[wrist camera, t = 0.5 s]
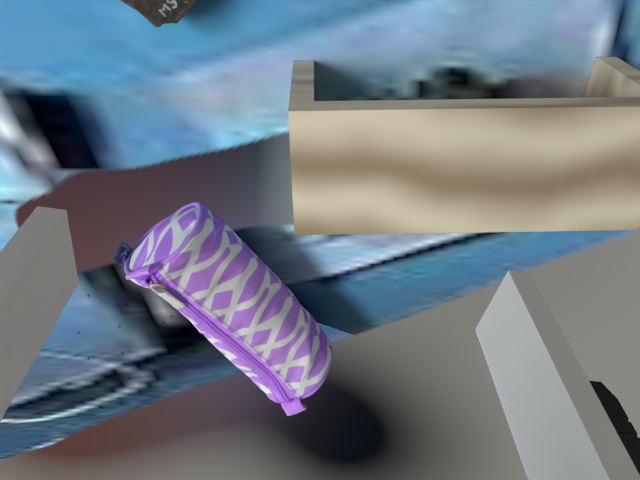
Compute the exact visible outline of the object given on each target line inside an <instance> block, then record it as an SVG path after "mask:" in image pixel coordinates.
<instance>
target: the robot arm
mask: <svg viewBox="0 0 640 480" xmlns="http://www.w3.org/2000/svg"><path fill="white" fill-rule="evenodd" d="M77 284H78V277H77V271H76V266H75V260H74V253H73V247H72V241H71V236H70V229H69V223H68V217H67V211H66V210H60V209H53V208H45V207H37V208H36V209H35V210H34V211H33V212H32V214H31V215H30V216H29V217H28V219H27V220H26V221H25V222H24V223H23V225H22V226H21V227H20V228H19V230H18V231H17V232H16V233H15V235H14V236H13V237H12V238H11V240H10V241H9V242H8V243H7V245H6V246H5V247H4V248H3V249H2V251H1V252H0V421H1V419H2V417H3V415H4V413H5V412H6V410H7V408H8V406H9V405H10V403H11V401H12V399H13V397H14V396H15V394H16V392H17V390H18V389H19V387H20V385H21V383H22V382H23V380H24V378H25V376H26V374H27V373H28V371H29V369H30V367H31V366H32V364H33V362H34V360H35V358H36V357H37V355H38V353H39V351H40V350H41V348H42V346H43V344H44V342H45V341H46V339H47V337H48V335H49V334H50V332H51V330H52V328H53V326H54V325H55V323H56V321H57V319H58V318H59V316H60V314H61V312H62V310H63V309H64V307H65V305H66V303H67V302H68V300H69V298H70V296H71V294H72V293H73V291H74V289H75V287H76V286H77ZM476 333H477V336H478V339H479V341H480V344H481V347H482V350H483V353H484V356H485V358H486V361H487V364H488V367H489V370H490V373H491V376H492V378H493V381H494V384H495V387H496V390H497V393H498V396H499V398H500V401H501V404H502V406H503V410H504V412H505V415H506V418H507V421H508V424H509V427H510V430H511V433H512V435H513V438H514V441H515V444H516V447H517V450H518V453H519V455H520V458H521V461H522V464H523V467H524V470H525V472H526V475H527V478H528V480H640V438H638V437H637V433H636V431H635V429H634V427H633V425H632V424H631V422H628V417H627V415H626V413H625V411H624V410H623V408H622V406H621V404H620V403H619V401H618V399H617V398H616V397H615V396H614V395H613V394H612V393H611V392H610V391H609V390H608V389H607V388H606V387H605V386H604V385H603V384H602V383H601V382H594V381H589V380H588V378H587V376H586V374H585V372H584V371H583V369H582V367H581V365H580V363H579V361H578V359H577V357H576V356H575V354H574V352H573V350H572V348H571V346H570V345H569V343H568V341H567V339H566V337H565V335H564V333H563V331H562V330H561V328H560V326H559V324H558V322H557V320H556V318H555V316H554V315H553V313H552V311H551V309H550V307H549V305H548V303H547V302H546V300H545V298H544V296H543V294H542V292H541V290H540V289H539V287H538V285H537V283H536V281H535V279H534V277H533V276H532V274H531V273H524V272H517V271H510V270H508V272H507V274H506V276H505V277H504V279H503V281H502V283H501V285H500V286H499V288H498V290H497V292H496V294H495V295H494V297H493V299H492V301H491V303H490V305H489V306H488V308H487V310H486V312H485V313H484V315H483V317H482V319H481V320H480V322H479V324H478V326H477V328H476Z"/></svg>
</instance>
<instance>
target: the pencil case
mask: <svg viewBox="0 0 640 480" xmlns="http://www.w3.org/2000/svg"><path fill="white" fill-rule="evenodd" d="M114 260H115V261H117V262H118V263H119V264H121V265H124V270H125V272H126V274H127V275H126V279H127V280H129V279H131V280H132V281H133V282H135V283H136V284H138V285H140V286H143V287H146V288H149V289H152V290H153V291H154V292H156V293H157V294H158V295H160V296H161V297H162V298H164V299H165V300H166V301H167V302H168V303H170V304H171V305H172V306H173V307H174V308H176V309H177V310H178V311H180V312H181V313H182V314H183V315H184V316H185V317H186V318H187V319H188V320H190V321H191V323H192V324H193V325H194V326H195V327H196V328H197V329H198V331H199V332H200V333H202V334H203V335H204V336H205V337H206V338H207V339H208V340H209V341H210V342H211V343H212V344H213V345H214V346H215V347H216V348H217V349H218V350H219V351H220V352H222V353H223V354H224V355H225V356H226V357H227V358H228V359H229V360H230V361H231V362H232V363H233V364H234V365H236V366H237V367H238V368H239V369H241V370H242V371H243V372H244V373H245V374H246V375H247V376H248V377H250V378H251V379H252V381H253V382H254V383H255V384H256V385H257V386H258V387H259V388H260V389H262V390H263V391H264V392H265V393H266V395H267V396H268V397H269V398H270V399H271V400H272V401H274V402H277V403H281V405H282V408H283V409H284V411H285V412H286V414H287V416H290V415H293V414H296V413H299V412H301V411H303V410H306V406H305V405H303V404H301V402H300V399H303V398H306V397H308V396H310V395H312V394H313V393H314V392H316V391H317V390H318V389H319V387H320V386H321V385H322V383H323V382H324V380H325V378H326V376H327V373H328V371H329V368H330V364H331V361H332V354H333V353H332V346H331V343H330V340H329V338H328V336H327V335H326V334H325V333H324V332H323V330H322V329H321V327H320V326H319V325H318V324H317V322H316V321H315V320H314V318H313V317H312V315H311V314H310V313H309V312H308V311H307V310H306V309H305V308H303V307H302V306H301V305H300V303H299V301H298V300H297V298H296V297H295V296H294V294H293V293H292V292H291V291H290V290H289V289H288V287H287V286H286V285H285V284H284V283H283V282H282V281H281V280H280V279H279V278H278V277H277V276H276V274H275V273H274V272H273V271H272V270H270V269H269V268H268V267H267V266H266V265H265V264H264V263H263V261H262V260H261V259H260V258H259V257H258V256H257V255H256V254H255V253H254V252H253V251H252V250H251V249H250V248H249V247H248V246H247V245H246V244H245V243H244V242H243V241H242V239H241V238H240V237H238V236H237V234H236V233H235V232H234V231H233V230H232V229H231V228H230V227H229V226H228V225H227V224H226V223H224V221H222V220H221V219H220V218H219V217H217V216H216V215H214V214H212V213H211V212H210V210H209V209H208V208H207V207H206V206H205V205H204V204H203V203H201V202H193V203H190V204H188V205H185V206H183V207H182V208H180V209H179V210H177V211H176V212H175V213H174V214H173V215H171V216H169V217H167V218H165V219H164V220H162V221H160V222H159V223H157V224H156V225H154V226H153V227H152V228H151V229H150V230H149V231H147V232H146V233H145V234H144V235H143V236H142V238H141V239H140V240H139V241H138V242H137V244H136V245H135V246H134V248H133V249H131V247H130V246H129V245H128V244H127V243H126V242H122V243H121V245H120V246H119V248H118V250H117V252H116V254H115V256H114Z"/></svg>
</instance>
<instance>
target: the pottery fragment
mask: <svg viewBox="0 0 640 480" xmlns="http://www.w3.org/2000/svg"><path fill="white" fill-rule="evenodd" d="M121 1H122V2H124V3H125V4H127V5H129V6H130V7H132V8H133V9H135V10H137V11H138V12H139V13H141V14H142V15H143V16H144V17H145V18H146V19H147V20H148V21H149V22H151V23H152V24H153V25H154V26H156V27H160V26H161V25H163V24H165V23H178V22H179V20H181V19H182V17H183V16H184V15H185V14H186V13H187V12H188V11H189V10H190V9H191V8H192V6H193V5H194V4H195V3H196V2H197V1H198V0H121Z"/></svg>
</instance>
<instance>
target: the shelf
mask: <svg viewBox="0 0 640 480" xmlns="http://www.w3.org/2000/svg"><path fill="white" fill-rule="evenodd" d="M288 115H289V135H290V153H291V154H290V155H291V173H292V192H293V212H294V213H293V214H294V233H295V235H320V234H391V233H462V232H533V231H604V230H638V229H639V227H640V71H639V70H637V69H636V68H634V67H632V66H631V65H629V64H627V63H626V62H624V61H622V60H621V59H619V58H617V57H596V60H595V63H594V66H593V69H592V72H591V75H590V78H589V81H588V84H587V87H586V90H585V93H584V96H583V98H521V99H444V100H367V101H314V61H293V71H292V80H291V90H290V100H289V109H288Z"/></svg>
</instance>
